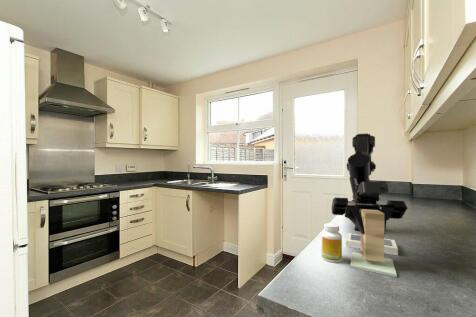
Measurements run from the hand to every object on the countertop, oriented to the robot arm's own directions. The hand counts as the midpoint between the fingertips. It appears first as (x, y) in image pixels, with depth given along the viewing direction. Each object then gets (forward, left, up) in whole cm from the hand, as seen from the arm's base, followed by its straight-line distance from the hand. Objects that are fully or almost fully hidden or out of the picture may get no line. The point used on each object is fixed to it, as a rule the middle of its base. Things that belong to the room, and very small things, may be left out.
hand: (373, 234), depth 60 cm
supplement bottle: (+1, -10, -9) cm, 14 cm away
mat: (-1, 0, -8) cm, 9 cm away
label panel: (-17, 0, -8) cm, 19 cm away
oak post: (-1, 0, -7) cm, 7 cm away
